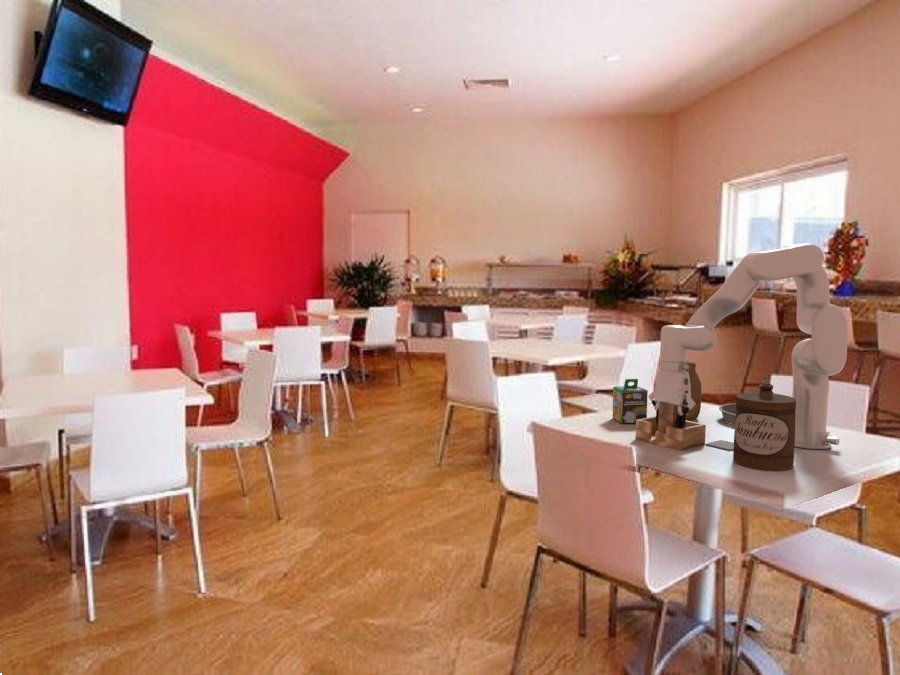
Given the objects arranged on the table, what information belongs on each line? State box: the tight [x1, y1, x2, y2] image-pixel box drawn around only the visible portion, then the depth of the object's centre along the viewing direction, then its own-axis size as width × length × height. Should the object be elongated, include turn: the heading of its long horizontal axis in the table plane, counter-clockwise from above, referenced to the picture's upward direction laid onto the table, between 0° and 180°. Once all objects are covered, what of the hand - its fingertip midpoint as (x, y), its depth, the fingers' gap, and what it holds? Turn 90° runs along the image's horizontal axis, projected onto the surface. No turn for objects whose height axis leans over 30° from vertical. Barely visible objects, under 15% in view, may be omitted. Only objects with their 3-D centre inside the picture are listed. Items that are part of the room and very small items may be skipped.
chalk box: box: [612, 378, 649, 424], centre depth 233 cm, size 9×9×15 cm
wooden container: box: [732, 382, 796, 472], centre depth 183 cm, size 15×15×22 cm
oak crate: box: [634, 415, 707, 451], centre depth 206 cm, size 16×12×6 cm
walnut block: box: [658, 402, 682, 433], centre depth 205 cm, size 5×5×9 cm
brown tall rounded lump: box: [686, 360, 702, 421], centre depth 238 cm, size 11×8×20 cm
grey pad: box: [705, 439, 734, 452], centre depth 202 cm, size 8×8×1 cm
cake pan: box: [718, 402, 736, 426], centre depth 233 cm, size 25×25×4 cm
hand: (670, 424), depth 205 cm, fingers open, 6 cm apart
